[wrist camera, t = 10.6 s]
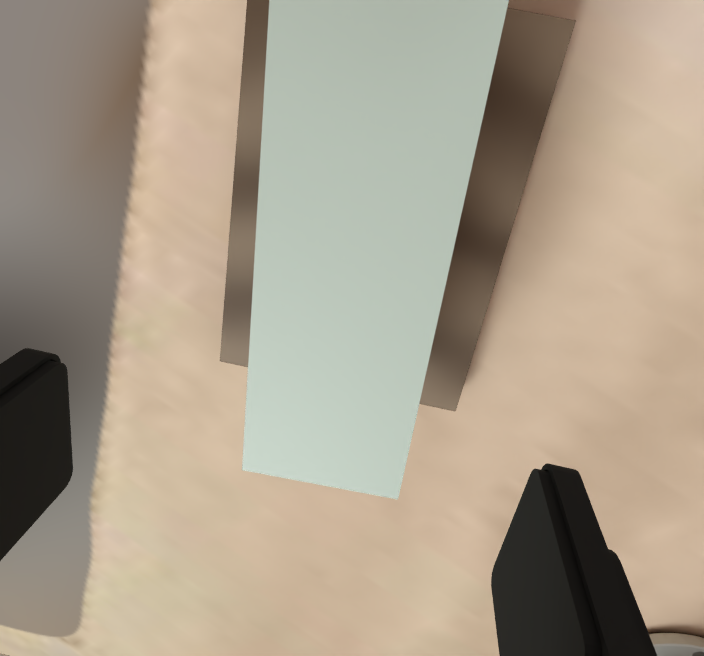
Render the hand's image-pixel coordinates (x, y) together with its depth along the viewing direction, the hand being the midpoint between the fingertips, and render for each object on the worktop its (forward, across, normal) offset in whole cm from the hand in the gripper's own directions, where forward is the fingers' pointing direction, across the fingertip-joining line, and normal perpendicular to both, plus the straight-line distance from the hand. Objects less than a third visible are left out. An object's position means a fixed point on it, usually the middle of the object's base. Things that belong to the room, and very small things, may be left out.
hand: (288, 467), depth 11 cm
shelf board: (+14, 0, -1) cm, 14 cm away
